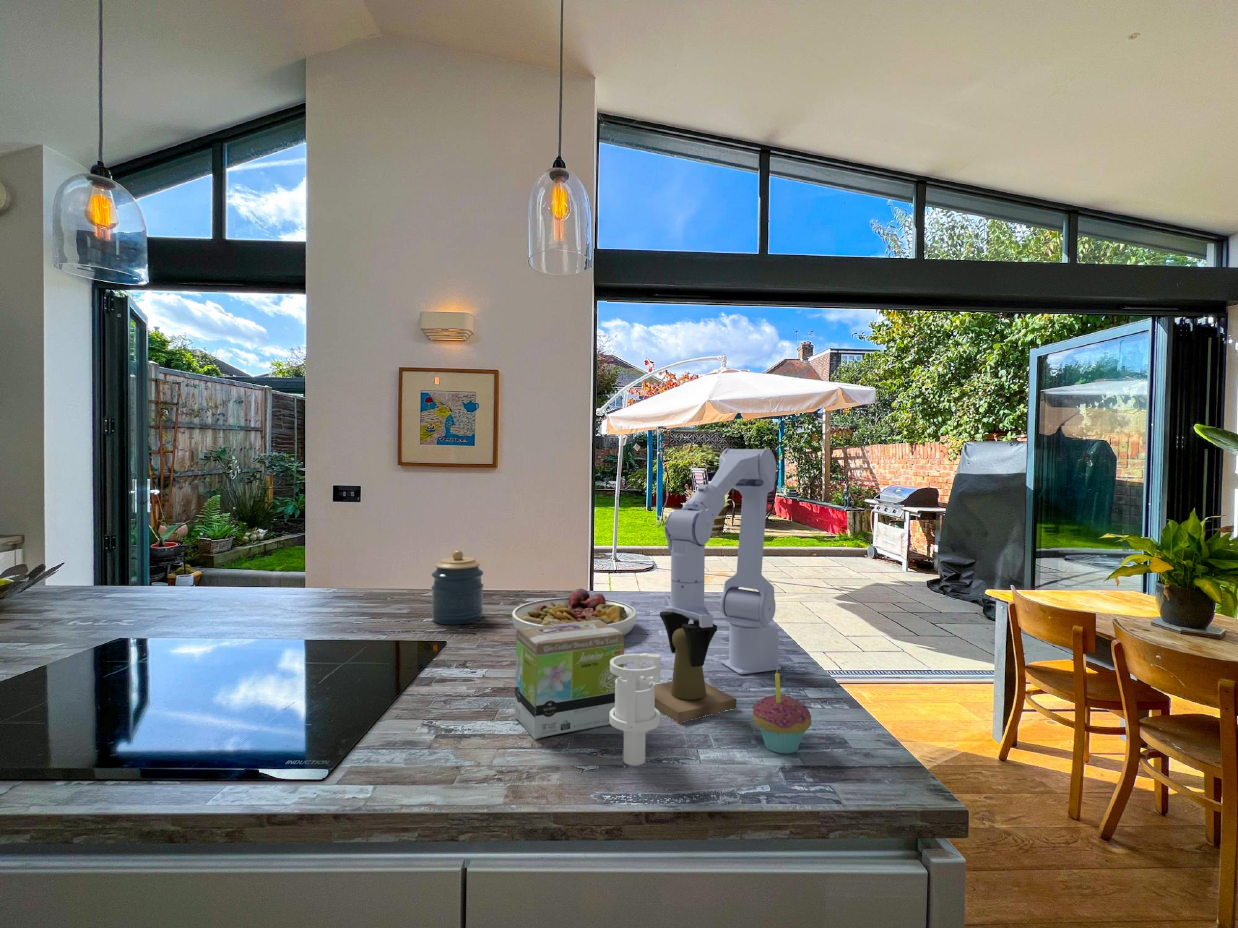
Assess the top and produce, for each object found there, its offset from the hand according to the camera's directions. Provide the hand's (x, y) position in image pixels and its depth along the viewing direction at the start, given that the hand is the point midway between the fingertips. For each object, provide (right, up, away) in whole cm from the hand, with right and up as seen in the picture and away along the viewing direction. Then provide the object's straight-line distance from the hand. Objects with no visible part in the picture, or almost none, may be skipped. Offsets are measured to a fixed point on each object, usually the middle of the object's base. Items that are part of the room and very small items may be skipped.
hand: (686, 658), depth 110 cm
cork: (0, -6, 0) cm, 6 cm away
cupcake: (+12, -8, -16) cm, 21 cm away
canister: (-53, -7, +55) cm, 77 cm away
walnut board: (0, -9, 0) cm, 9 cm away
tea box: (-20, -8, -7) cm, 22 cm away
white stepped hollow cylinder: (-9, -8, -20) cm, 24 cm away
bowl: (-22, -7, +45) cm, 51 cm away
